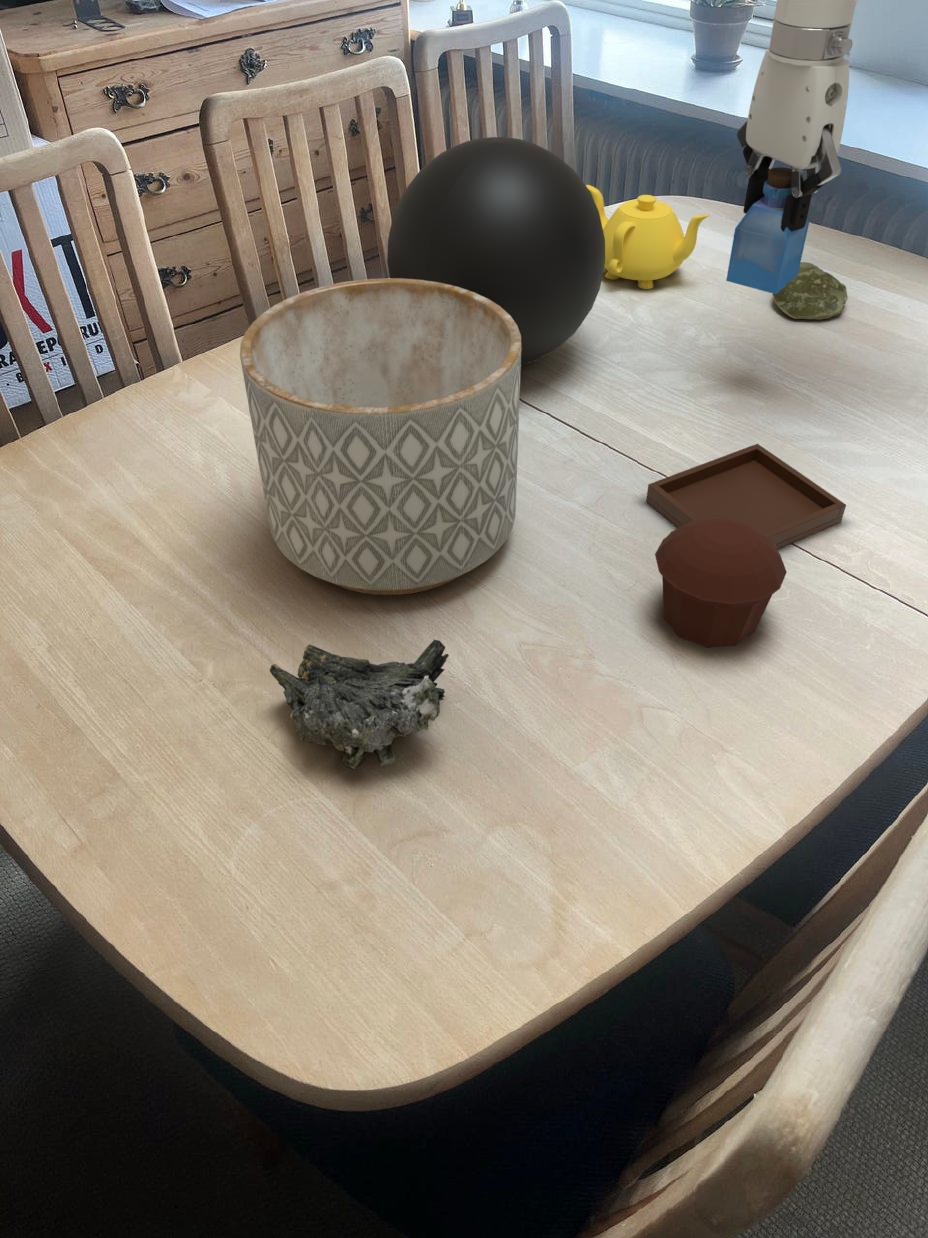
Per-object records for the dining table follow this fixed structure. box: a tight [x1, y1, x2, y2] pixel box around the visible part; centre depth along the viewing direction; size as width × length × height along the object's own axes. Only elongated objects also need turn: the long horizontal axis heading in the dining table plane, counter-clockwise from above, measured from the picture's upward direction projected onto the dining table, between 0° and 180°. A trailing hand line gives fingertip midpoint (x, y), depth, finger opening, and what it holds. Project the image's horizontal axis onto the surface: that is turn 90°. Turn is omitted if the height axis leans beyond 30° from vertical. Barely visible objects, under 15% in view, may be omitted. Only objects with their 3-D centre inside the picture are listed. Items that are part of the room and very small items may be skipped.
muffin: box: [654, 517, 788, 648], centre depth 94 cm, size 12×11×10 cm
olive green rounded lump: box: [772, 261, 849, 321], centre depth 144 cm, size 10×7×10 cm
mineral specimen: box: [269, 639, 450, 770], centre depth 85 cm, size 15×13×10 cm
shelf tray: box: [645, 443, 847, 550], centre depth 108 cm, size 16×14×2 cm
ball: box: [386, 136, 605, 367], centre depth 125 cm, size 27×27×27 cm
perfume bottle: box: [726, 167, 810, 295], centre depth 115 cm, size 6×6×12 cm
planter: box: [239, 277, 522, 596], centre depth 99 cm, size 26×26×22 cm
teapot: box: [585, 184, 710, 290], centre depth 148 cm, size 20×15×12 cm
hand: (773, 218), depth 114 cm, fingers closed on perfume bottle, 5 cm apart
